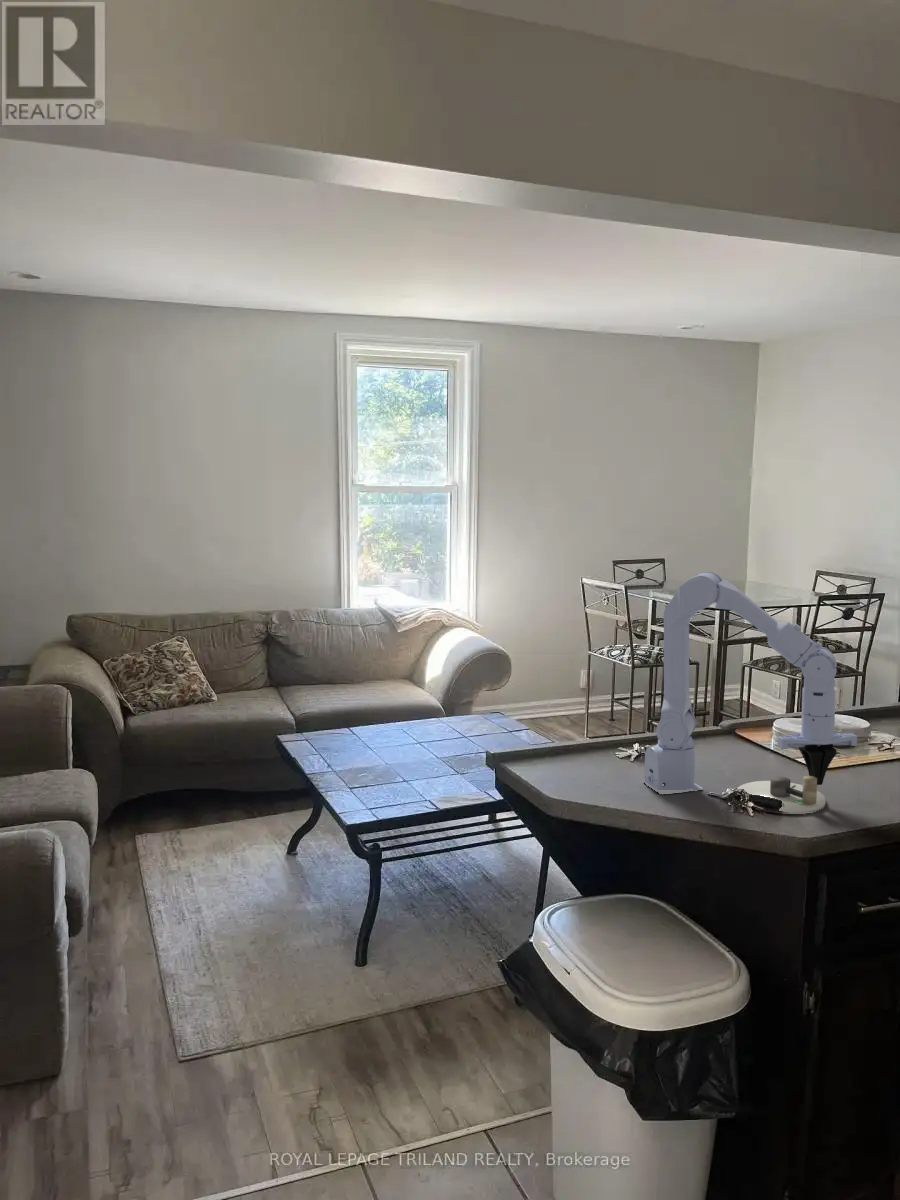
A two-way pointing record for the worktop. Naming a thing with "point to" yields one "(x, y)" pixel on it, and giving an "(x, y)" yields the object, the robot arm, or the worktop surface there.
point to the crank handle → (782, 789)
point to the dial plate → (789, 802)
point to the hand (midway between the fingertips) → (816, 783)
